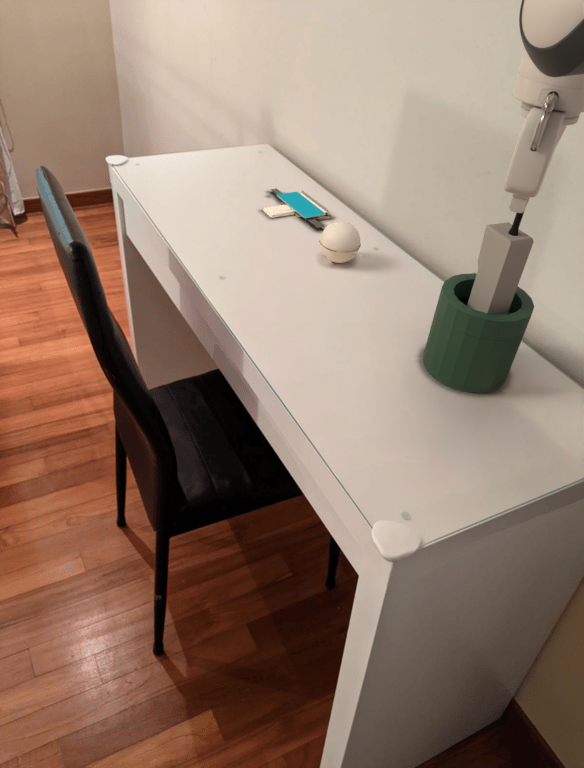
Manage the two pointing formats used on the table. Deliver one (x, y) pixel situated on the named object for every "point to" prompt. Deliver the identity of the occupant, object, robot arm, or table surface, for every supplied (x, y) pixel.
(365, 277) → the table surface
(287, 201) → the phone stand
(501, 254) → the vintage mobile phone
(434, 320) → the green hollow cylinder
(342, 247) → the cream domed seamed part
